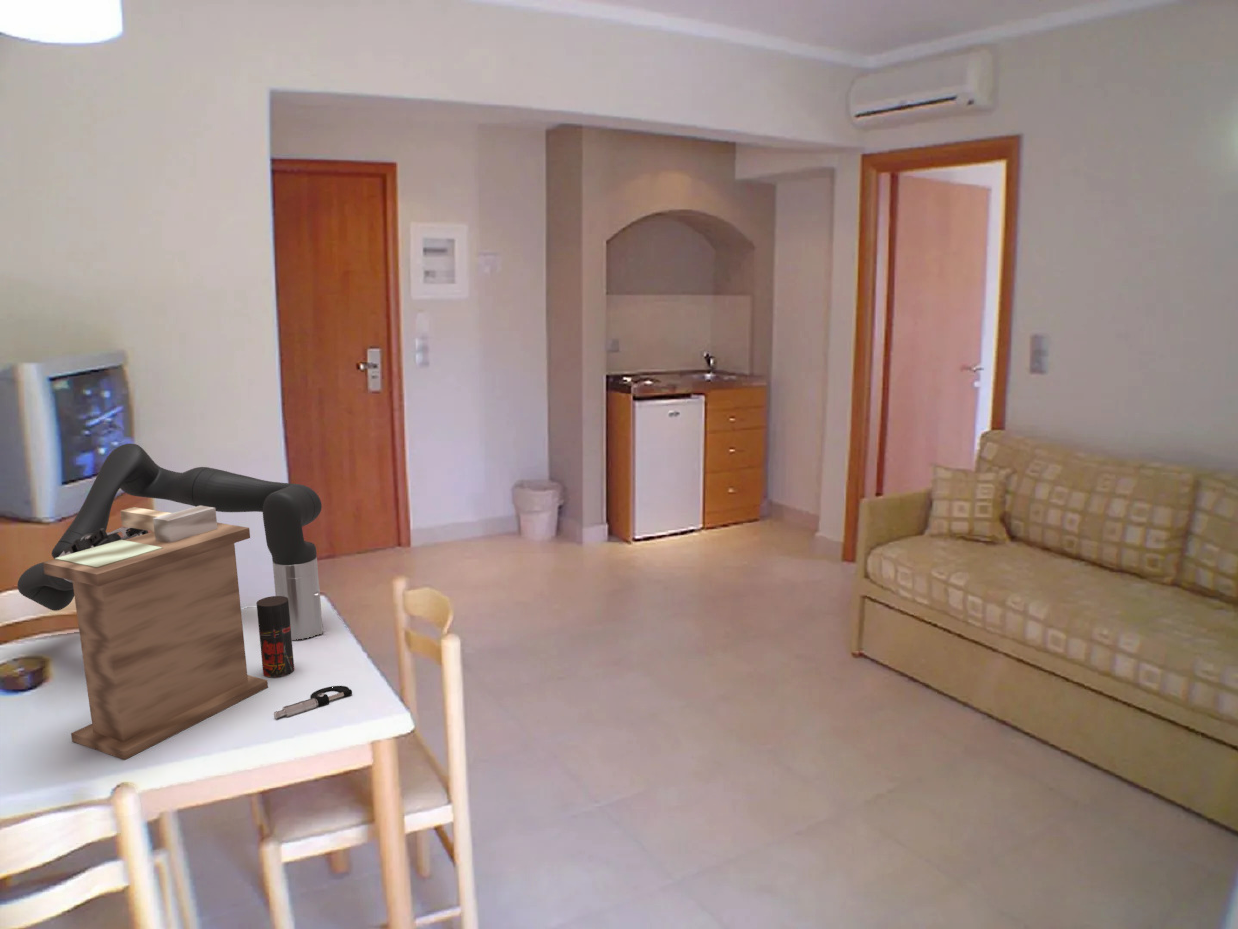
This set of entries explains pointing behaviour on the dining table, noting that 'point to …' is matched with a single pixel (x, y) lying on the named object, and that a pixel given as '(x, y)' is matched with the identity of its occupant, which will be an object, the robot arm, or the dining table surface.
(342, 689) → the micrometer
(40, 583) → the robot arm
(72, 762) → the dining table surface
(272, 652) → the deodorant
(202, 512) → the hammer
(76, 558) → the stand
